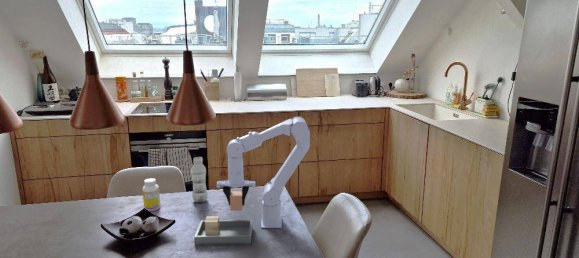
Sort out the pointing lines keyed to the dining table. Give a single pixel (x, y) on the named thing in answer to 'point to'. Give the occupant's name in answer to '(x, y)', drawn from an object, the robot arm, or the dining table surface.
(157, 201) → the supplement bottle
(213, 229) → the beech block
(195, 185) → the plastic bottle
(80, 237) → the dining table surface
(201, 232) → the slate tray
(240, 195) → the terracotta block
